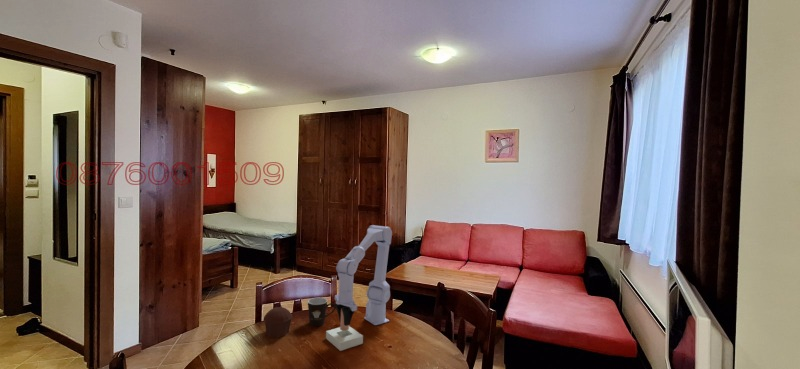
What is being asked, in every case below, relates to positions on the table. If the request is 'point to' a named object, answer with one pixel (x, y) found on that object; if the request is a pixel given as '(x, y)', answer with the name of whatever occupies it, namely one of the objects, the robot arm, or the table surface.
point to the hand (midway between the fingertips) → (344, 323)
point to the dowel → (342, 326)
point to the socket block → (344, 338)
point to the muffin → (277, 322)
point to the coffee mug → (318, 311)
